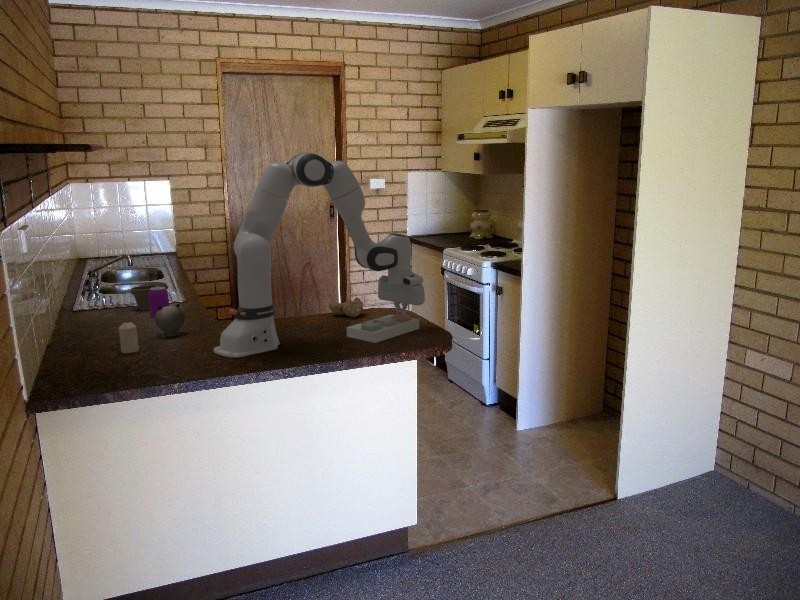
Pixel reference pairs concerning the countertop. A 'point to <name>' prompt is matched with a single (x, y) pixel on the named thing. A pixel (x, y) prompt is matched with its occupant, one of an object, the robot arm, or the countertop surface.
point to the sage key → (371, 326)
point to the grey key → (386, 322)
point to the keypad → (382, 330)
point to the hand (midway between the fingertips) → (401, 314)
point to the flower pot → (142, 296)
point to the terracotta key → (401, 317)
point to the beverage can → (157, 299)
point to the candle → (128, 338)
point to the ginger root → (348, 307)
